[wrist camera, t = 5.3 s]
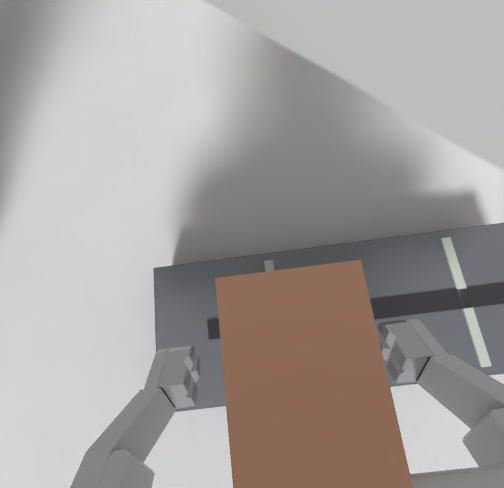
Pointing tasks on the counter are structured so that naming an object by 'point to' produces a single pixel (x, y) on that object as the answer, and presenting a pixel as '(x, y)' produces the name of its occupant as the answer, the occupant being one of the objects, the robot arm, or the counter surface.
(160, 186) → the counter surface
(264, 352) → the fader
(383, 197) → the counter surface
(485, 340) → the fader console
